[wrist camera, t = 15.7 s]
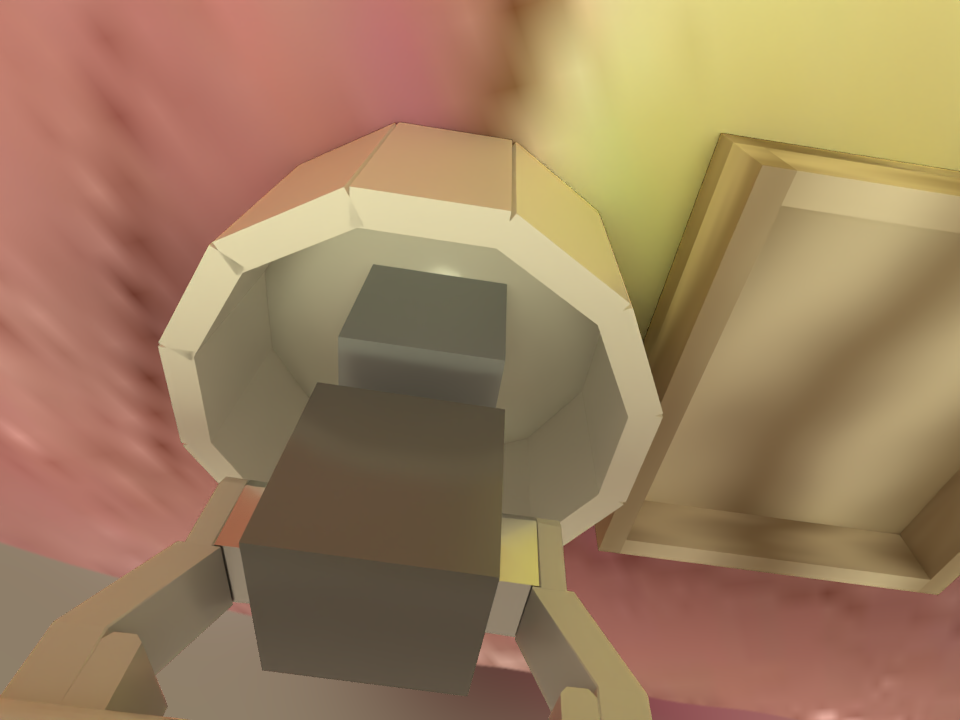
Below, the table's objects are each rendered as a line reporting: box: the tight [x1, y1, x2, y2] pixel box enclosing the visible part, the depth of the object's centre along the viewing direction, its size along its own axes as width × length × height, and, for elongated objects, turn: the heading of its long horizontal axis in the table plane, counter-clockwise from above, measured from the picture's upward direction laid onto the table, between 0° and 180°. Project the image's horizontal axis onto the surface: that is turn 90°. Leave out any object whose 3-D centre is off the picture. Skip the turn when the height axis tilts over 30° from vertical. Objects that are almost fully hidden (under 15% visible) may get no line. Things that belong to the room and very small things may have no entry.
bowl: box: [158, 122, 663, 546], centre depth 16 cm, size 12×12×6 cm
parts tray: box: [595, 133, 960, 595], centre depth 18 cm, size 13×14×3 cm
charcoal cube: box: [239, 382, 505, 696], centre depth 11 cm, size 4×4×4 cm
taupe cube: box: [338, 264, 507, 408], centre depth 16 cm, size 4×4×4 cm
